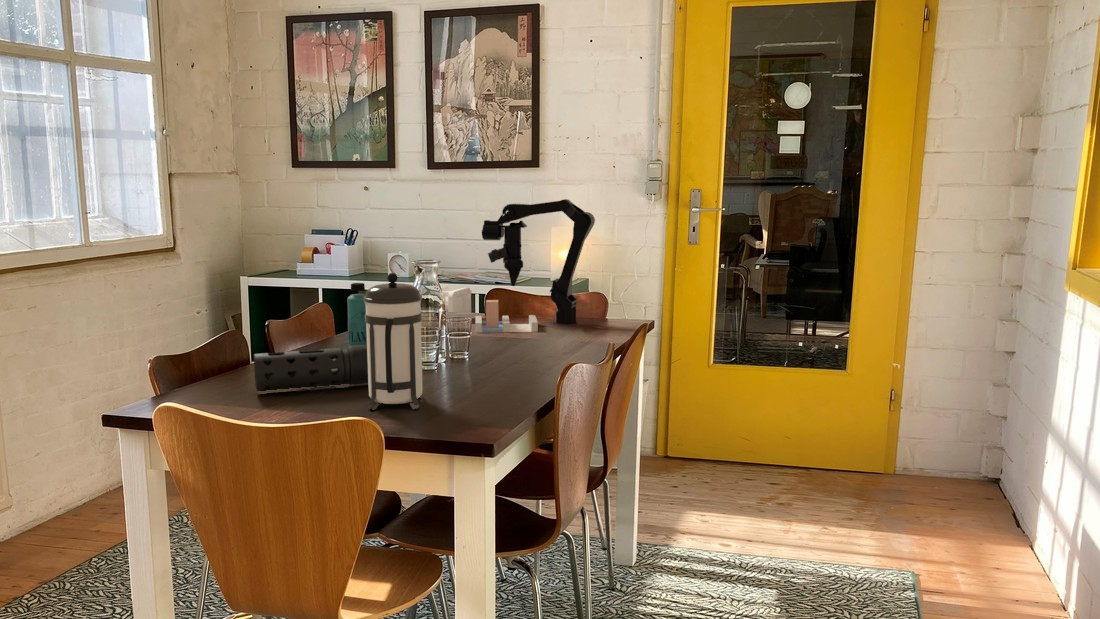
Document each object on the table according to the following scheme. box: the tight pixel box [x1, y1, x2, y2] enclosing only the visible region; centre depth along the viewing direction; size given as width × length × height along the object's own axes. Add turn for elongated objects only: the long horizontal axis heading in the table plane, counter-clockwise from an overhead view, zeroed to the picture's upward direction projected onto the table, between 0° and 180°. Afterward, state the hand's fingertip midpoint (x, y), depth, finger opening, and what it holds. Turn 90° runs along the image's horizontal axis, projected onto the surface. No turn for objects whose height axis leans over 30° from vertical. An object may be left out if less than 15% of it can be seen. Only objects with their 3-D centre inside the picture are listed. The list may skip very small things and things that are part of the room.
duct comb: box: [475, 314, 539, 334], centre depth 283 cm, size 20×14×4 cm
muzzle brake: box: [253, 345, 368, 391], centre depth 207 cm, size 10×28×10 cm, turn 111°
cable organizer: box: [440, 285, 472, 314], centre depth 301 cm, size 15×11×12 cm
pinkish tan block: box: [485, 299, 500, 329], centre depth 282 cm, size 4×4×9 cm
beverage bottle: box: [346, 282, 367, 347], centre depth 252 cm, size 6×7×20 cm
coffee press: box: [364, 272, 424, 406], centre depth 191 cm, size 17×16×30 cm
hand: (512, 285), depth 296 cm, fingers closed
